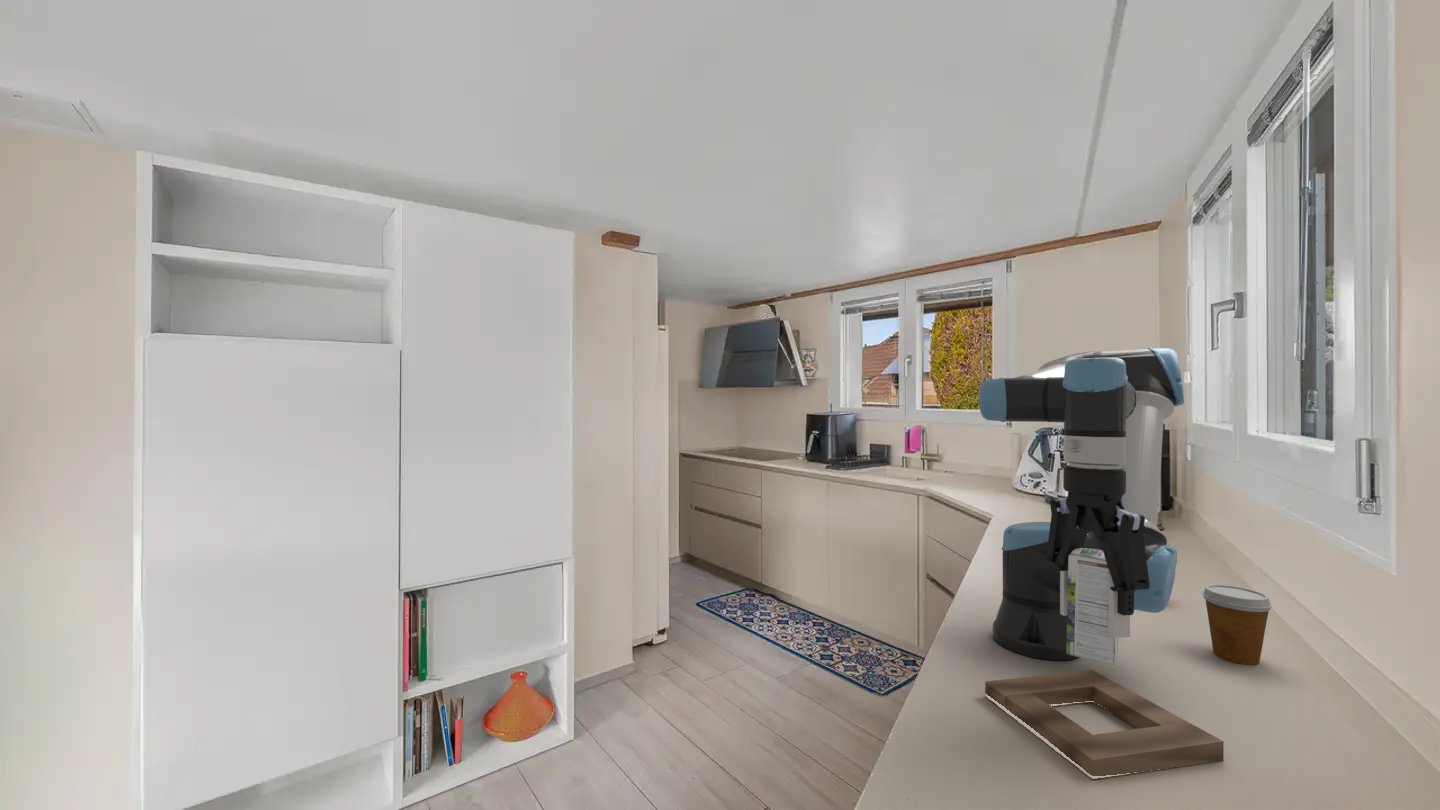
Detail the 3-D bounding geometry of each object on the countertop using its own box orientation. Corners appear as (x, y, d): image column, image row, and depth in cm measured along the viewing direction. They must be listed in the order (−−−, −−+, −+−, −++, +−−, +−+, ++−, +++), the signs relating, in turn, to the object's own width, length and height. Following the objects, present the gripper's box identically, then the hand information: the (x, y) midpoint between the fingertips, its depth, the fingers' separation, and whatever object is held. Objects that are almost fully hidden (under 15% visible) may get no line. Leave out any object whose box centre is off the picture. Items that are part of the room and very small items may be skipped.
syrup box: (1072, 642, 85) (1072, 545, 85) (1119, 653, 81) (1120, 552, 81) (1065, 654, 80) (1066, 553, 81) (1116, 666, 77) (1116, 560, 77)
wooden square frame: (985, 697, 89) (985, 681, 89) (1092, 685, 93) (1092, 670, 93) (1092, 780, 69) (1092, 759, 69) (1223, 760, 73) (1223, 741, 73)
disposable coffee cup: (1286, 671, 98) (1287, 602, 98) (1223, 666, 100) (1223, 598, 100) (1247, 648, 107) (1247, 585, 107) (1190, 644, 109) (1190, 582, 109)
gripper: (1019, 459, 90) (1018, 602, 90) (1138, 474, 70) (1137, 658, 70) (1060, 458, 92) (1059, 599, 92) (1187, 473, 72) (1186, 653, 71)
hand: (1093, 624), depth 81 cm, fingers closed on syrup box, 8 cm apart
